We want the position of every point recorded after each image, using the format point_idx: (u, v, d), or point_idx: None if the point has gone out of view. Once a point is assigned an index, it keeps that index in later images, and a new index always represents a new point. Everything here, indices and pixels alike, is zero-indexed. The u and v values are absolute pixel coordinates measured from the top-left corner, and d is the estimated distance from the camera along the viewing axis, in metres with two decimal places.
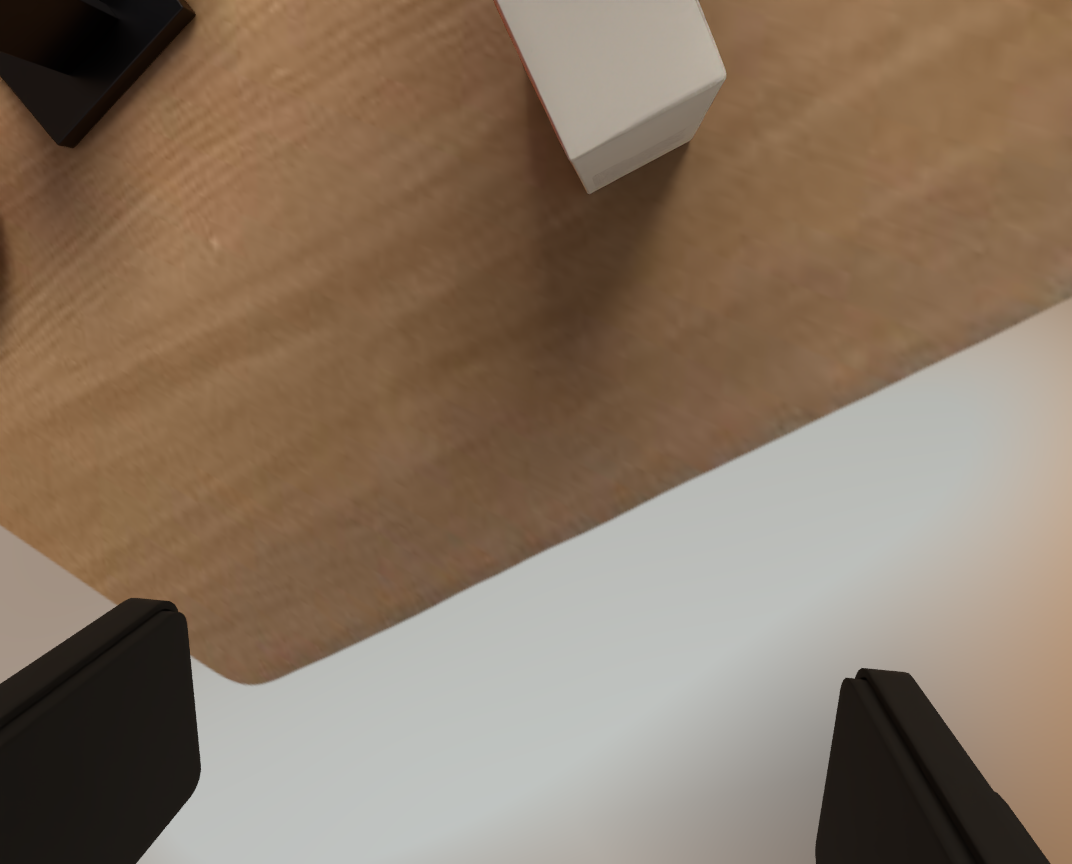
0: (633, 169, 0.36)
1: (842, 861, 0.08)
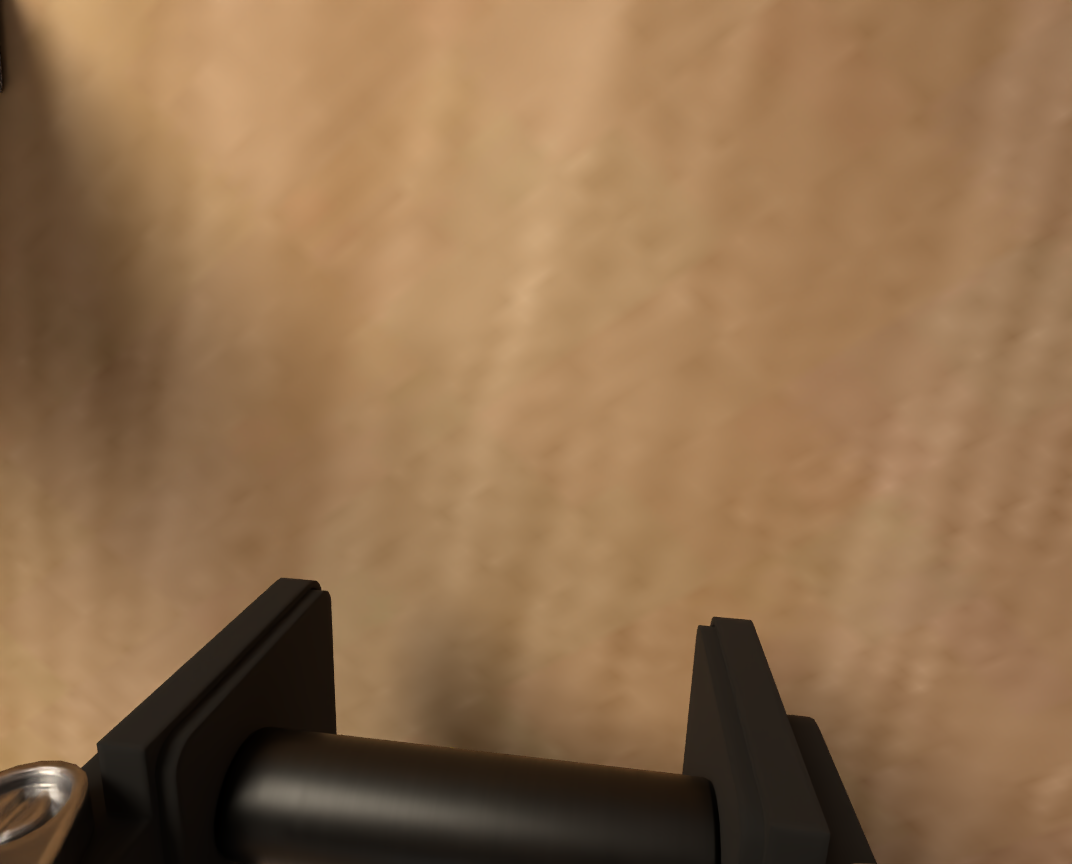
0: None
1: None
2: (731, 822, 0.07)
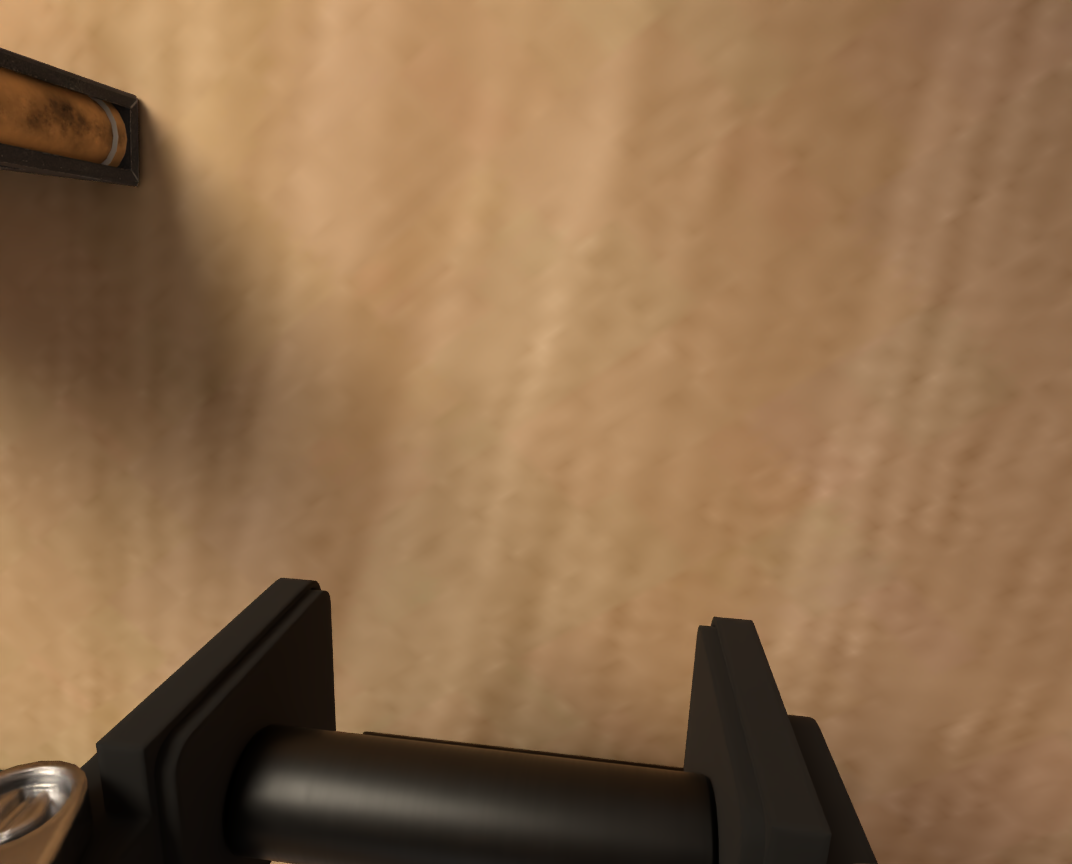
0: None
1: None
2: (732, 822, 0.07)
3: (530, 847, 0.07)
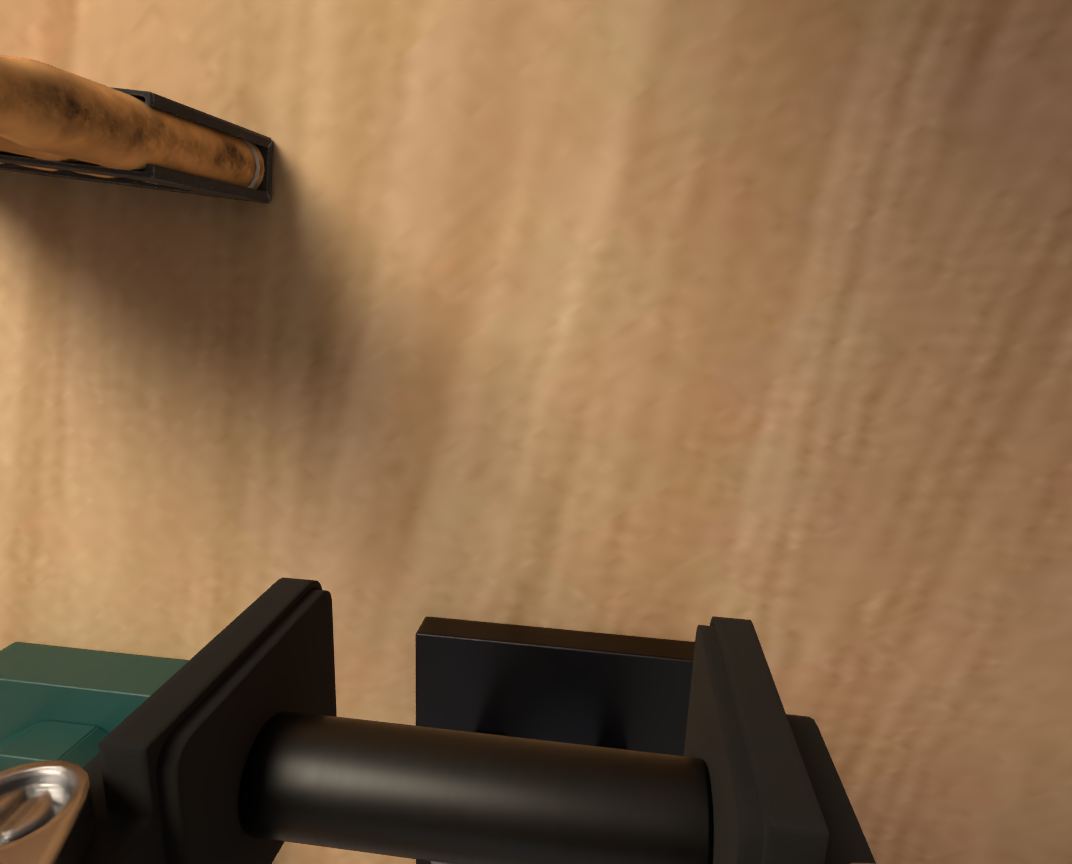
0: None
1: None
2: (730, 821, 0.07)
3: (532, 856, 0.08)
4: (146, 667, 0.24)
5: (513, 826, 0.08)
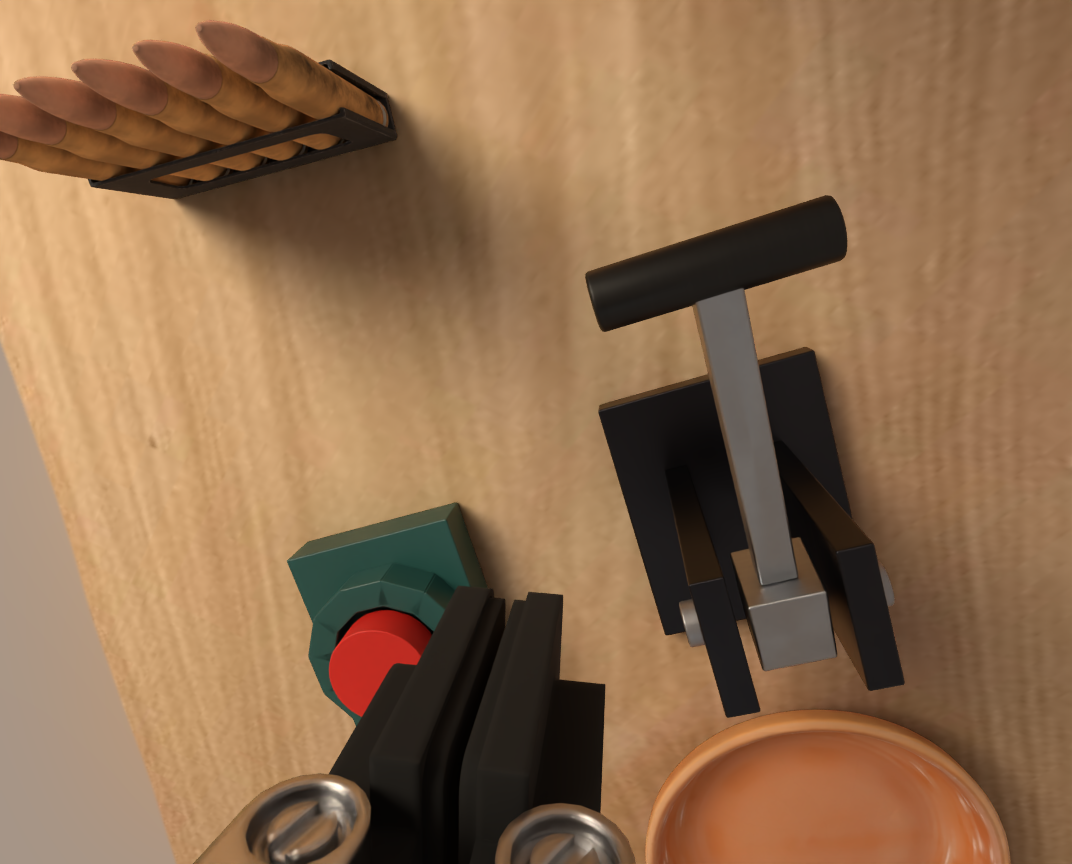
0: None
1: None
2: None
3: (750, 258, 0.14)
4: (410, 518, 0.32)
5: (736, 246, 0.15)
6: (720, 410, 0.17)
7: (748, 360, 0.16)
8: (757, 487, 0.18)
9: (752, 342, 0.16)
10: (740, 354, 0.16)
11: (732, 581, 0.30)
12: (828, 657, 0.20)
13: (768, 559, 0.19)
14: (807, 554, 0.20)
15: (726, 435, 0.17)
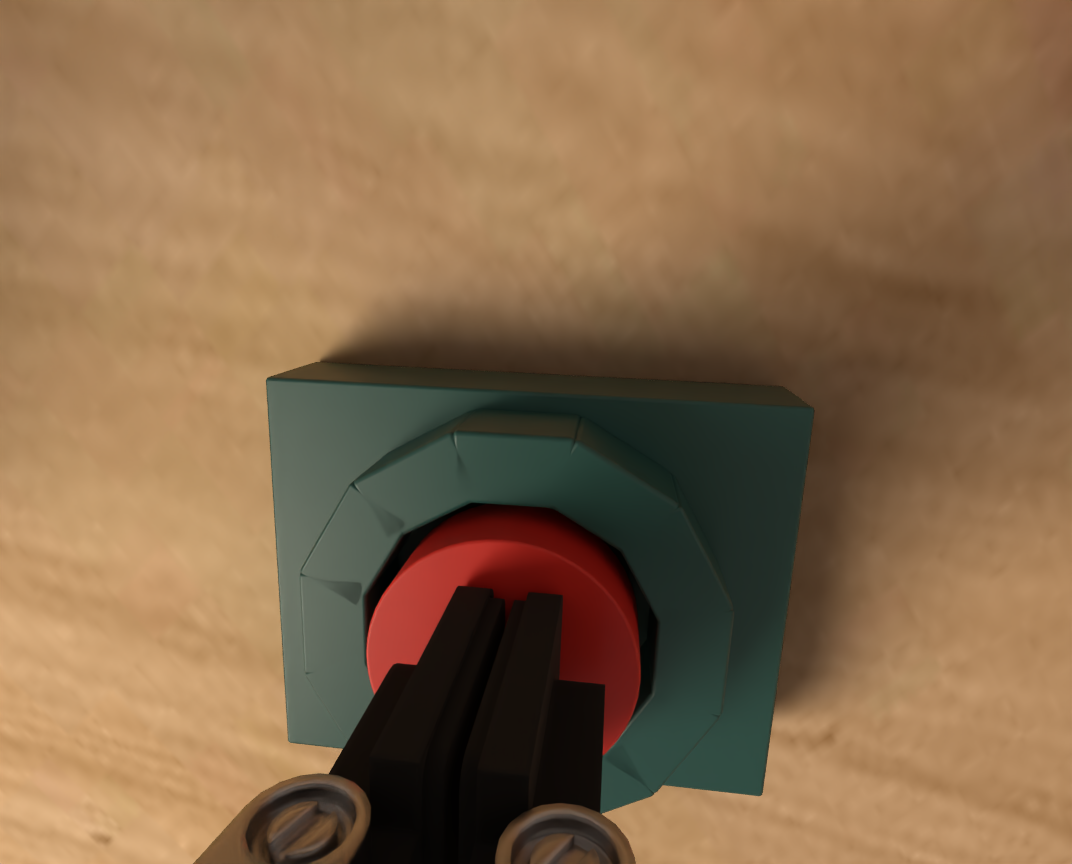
0: None
1: None
2: None
3: None
4: None
5: None
6: None
7: None
8: None
9: None
10: None
11: None
12: None
13: None
14: None
15: None
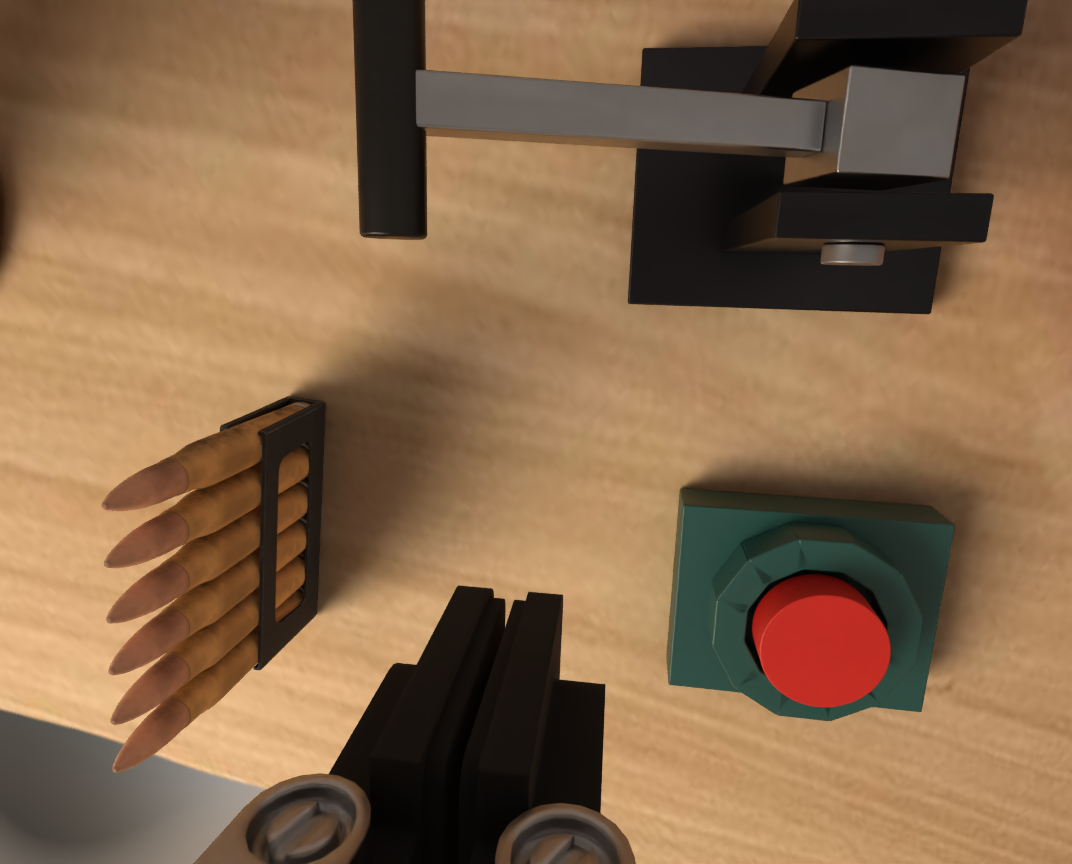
0: None
1: None
2: None
3: (380, 51, 0.13)
4: (676, 543, 0.29)
5: (366, 64, 0.14)
6: (557, 135, 0.15)
7: (503, 86, 0.14)
8: (674, 118, 0.15)
9: (483, 76, 0.14)
10: (494, 93, 0.14)
11: None
12: (961, 86, 0.15)
13: (784, 131, 0.15)
14: (810, 85, 0.16)
15: (592, 137, 0.15)
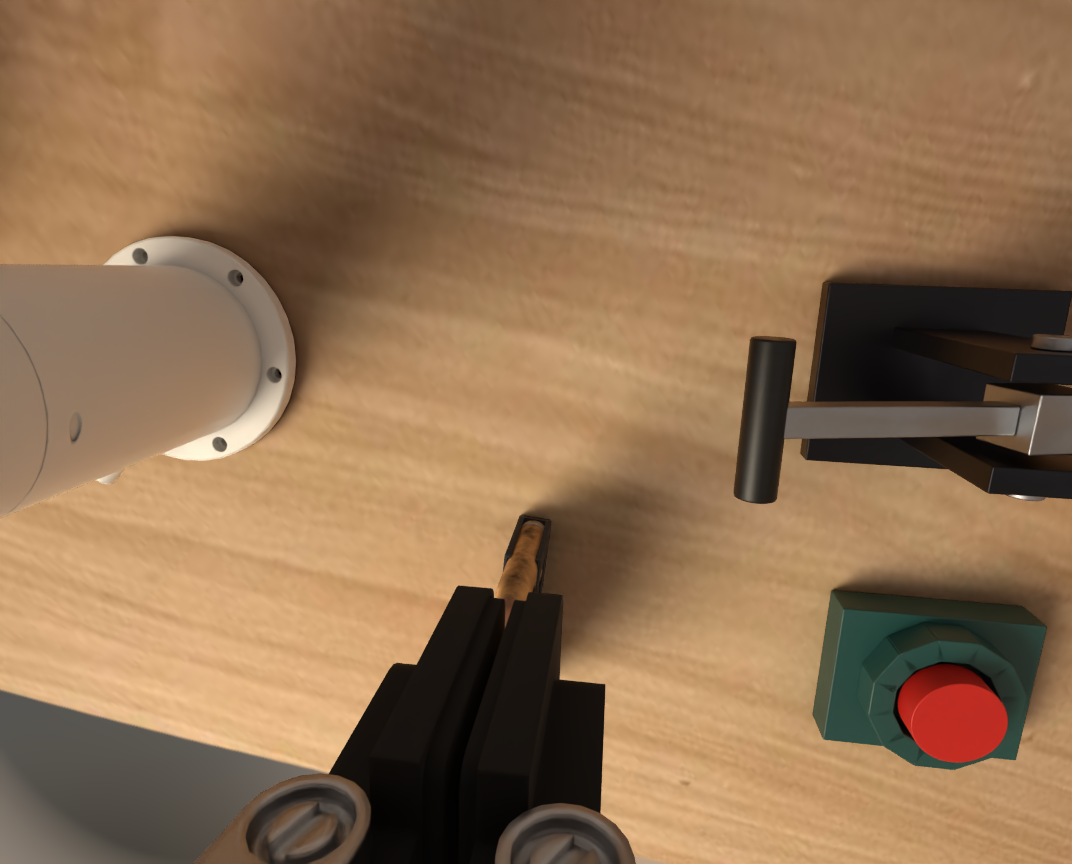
0: None
1: None
2: None
3: (772, 402, 0.22)
4: (829, 632, 0.38)
5: (761, 408, 0.22)
6: (861, 437, 0.23)
7: (836, 413, 0.23)
8: (931, 423, 0.24)
9: (825, 408, 0.23)
10: (829, 417, 0.23)
11: None
12: None
13: (993, 426, 0.24)
14: (1004, 388, 0.25)
15: (881, 437, 0.23)
